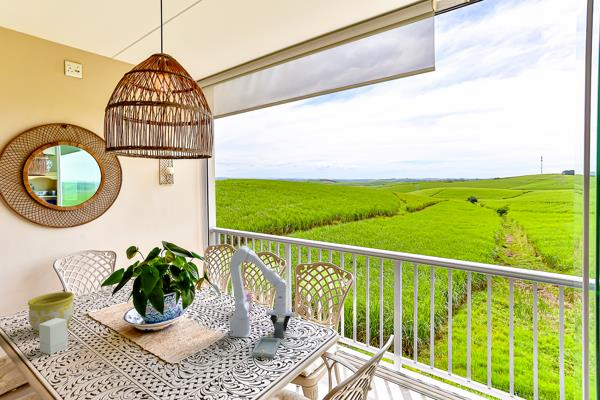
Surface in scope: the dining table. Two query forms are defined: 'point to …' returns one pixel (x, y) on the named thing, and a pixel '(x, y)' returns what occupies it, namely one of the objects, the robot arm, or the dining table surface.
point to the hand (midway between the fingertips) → (280, 330)
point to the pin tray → (266, 347)
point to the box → (248, 297)
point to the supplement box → (53, 335)
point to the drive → (279, 327)
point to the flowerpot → (50, 308)
